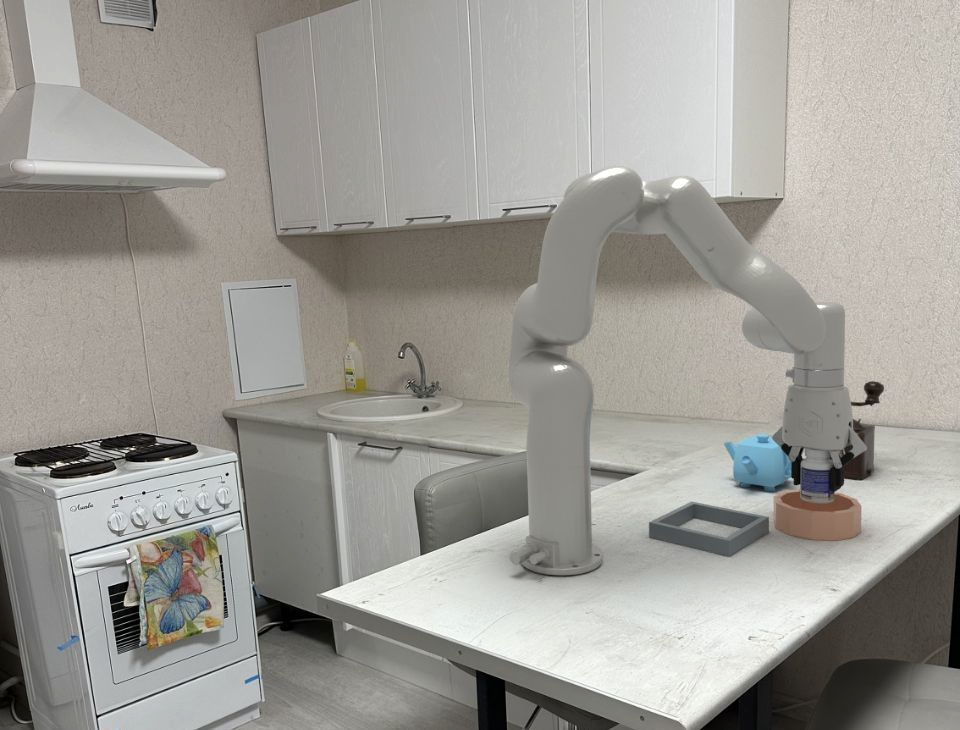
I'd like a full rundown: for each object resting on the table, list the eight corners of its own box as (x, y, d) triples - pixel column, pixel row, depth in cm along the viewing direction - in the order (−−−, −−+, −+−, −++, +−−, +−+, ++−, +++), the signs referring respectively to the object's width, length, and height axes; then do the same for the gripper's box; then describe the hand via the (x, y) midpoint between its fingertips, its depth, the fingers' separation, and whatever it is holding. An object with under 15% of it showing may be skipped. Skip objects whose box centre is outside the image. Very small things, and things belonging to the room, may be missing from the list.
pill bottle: (837, 504, 128) (838, 451, 127) (803, 504, 129) (804, 451, 128) (830, 495, 133) (831, 443, 132) (797, 494, 134) (797, 443, 133)
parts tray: (729, 556, 120) (729, 540, 120) (649, 536, 130) (648, 522, 129) (768, 531, 130) (768, 517, 130) (691, 515, 140) (691, 501, 139)
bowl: (842, 546, 123) (842, 518, 122) (761, 528, 131) (761, 503, 131) (870, 524, 132) (871, 498, 131) (793, 509, 141) (793, 485, 140)
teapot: (777, 501, 146) (777, 448, 144) (705, 489, 155) (705, 438, 153) (811, 478, 159) (811, 429, 158) (743, 468, 168) (743, 422, 167)
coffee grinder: (865, 481, 156) (867, 391, 153) (807, 473, 163) (808, 387, 160) (884, 464, 168) (887, 380, 165) (829, 457, 175) (831, 377, 172)
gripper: (757, 377, 132) (757, 483, 134) (866, 385, 120) (864, 501, 122) (776, 371, 137) (776, 473, 139) (882, 379, 125) (880, 490, 128)
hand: (817, 485), depth 131 cm, fingers closed on pill bottle, 5 cm apart
